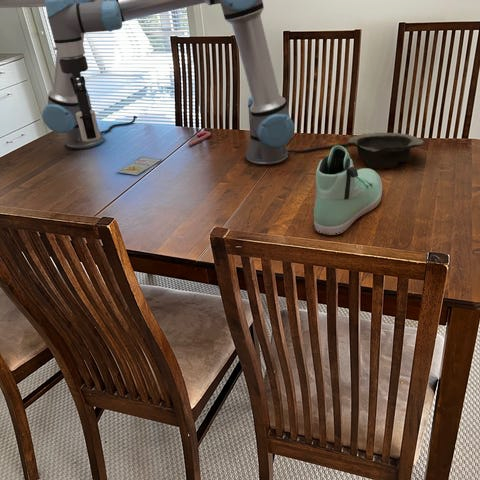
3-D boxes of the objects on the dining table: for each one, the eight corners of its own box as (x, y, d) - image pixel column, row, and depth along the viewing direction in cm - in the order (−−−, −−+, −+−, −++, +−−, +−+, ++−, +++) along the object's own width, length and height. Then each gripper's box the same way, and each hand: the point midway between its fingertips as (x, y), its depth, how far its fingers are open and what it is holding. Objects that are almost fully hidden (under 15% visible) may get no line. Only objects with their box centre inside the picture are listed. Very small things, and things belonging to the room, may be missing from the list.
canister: (79, 138, 151) (73, 112, 146) (96, 134, 153) (90, 108, 149) (85, 142, 147) (79, 116, 142) (102, 138, 149) (96, 112, 145)
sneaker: (389, 187, 148) (396, 123, 138) (356, 242, 123) (361, 168, 112) (346, 181, 154) (350, 119, 144) (306, 232, 129) (307, 161, 118)
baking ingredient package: (117, 171, 173) (141, 156, 185) (117, 172, 174) (141, 158, 185) (136, 174, 170) (160, 159, 181) (136, 175, 170) (160, 160, 181)
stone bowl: (381, 179, 153) (381, 151, 149) (333, 161, 173) (332, 136, 169) (438, 160, 162) (440, 133, 157) (386, 145, 182) (386, 120, 178)
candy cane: (179, 144, 195) (179, 141, 194) (202, 133, 205) (202, 129, 204) (191, 147, 192) (190, 143, 191) (213, 135, 202) (213, 131, 201)
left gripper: (-92, 38, 165) (-67, 100, 176) (-14, 29, 172) (5, 89, 183) (-88, 35, 171) (-65, 95, 182) (-13, 27, 178) (5, 85, 189)
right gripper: (56, 53, 144) (76, 128, 156) (60, 64, 129) (81, 146, 141) (82, 50, 146) (99, 124, 158) (88, 60, 131) (106, 141, 143)
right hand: (90, 134), depth 149 cm, fingers closed on canister, 6 cm apart
